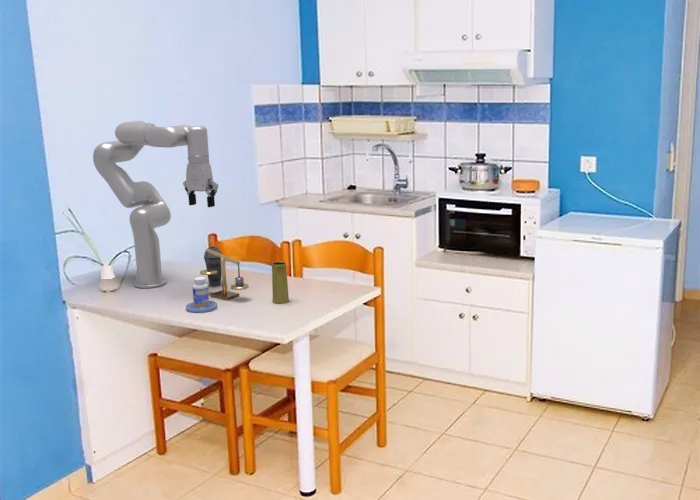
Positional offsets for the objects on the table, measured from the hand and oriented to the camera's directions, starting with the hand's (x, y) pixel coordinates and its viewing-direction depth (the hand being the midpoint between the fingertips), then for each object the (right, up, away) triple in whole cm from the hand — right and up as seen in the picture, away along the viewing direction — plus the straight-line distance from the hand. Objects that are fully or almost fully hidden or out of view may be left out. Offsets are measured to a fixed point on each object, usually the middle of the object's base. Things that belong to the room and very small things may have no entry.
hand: (201, 205), depth 287 cm
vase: (+30, -35, -8) cm, 47 cm away
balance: (+9, -34, 0) cm, 35 cm away
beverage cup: (+2, -31, +16) cm, 35 cm away
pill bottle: (+3, -36, -14) cm, 39 cm away
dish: (+3, -37, -14) cm, 40 cm away
